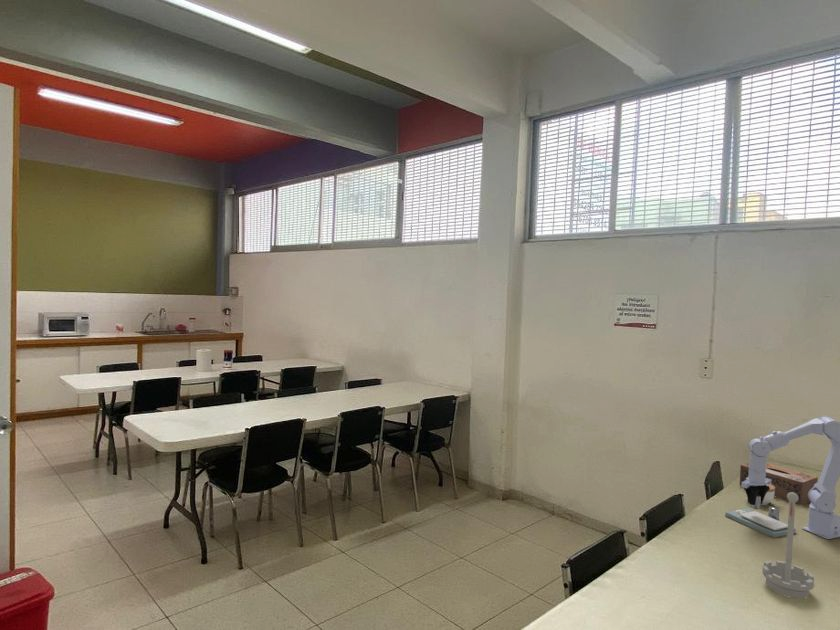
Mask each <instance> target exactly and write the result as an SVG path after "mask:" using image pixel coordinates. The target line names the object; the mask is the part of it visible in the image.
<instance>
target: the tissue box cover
mask: <svg viewBox="0 0 840 630" xmlns="http://www.w3.org/2000/svg"><path fill="white" fill-rule="evenodd" d="M739 469H740V471H739V486H740V485H741V484H742V482H744V481H745V480H746V478H747V477H748V475H749V462H747V463H744V464H741V465H740V468H739ZM766 478H768V479H771V480H772V481H771V485H773V486H775V495H774V497H775V496H776V498H778V497H779V498H778V499H781V500H785V501H788V502H789V500H788V499H787V494H788V493H790V492H794V493H796V494H797V495H798V498H799V499H798V501H797V502H795V504H798V505H804V504H807V503H809V502H811V501H810V500H809V498H808V492H809V491H810V490H811V489H812V488H813V487H814V484H815V483H817V482H818V481H819V477H818V476H815V475H811V474H808V473H805V472H800V471H797V470H793V469H790V468H785V467H781V466H777V465H775V464H772V463H767V462H766Z"/></svg>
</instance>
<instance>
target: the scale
mask: <svg viewBox="0 0 840 630" xmlns="http://www.w3.org/2000/svg"><path fill="white" fill-rule="evenodd" d="M724 516H725V517H726V518H729V519H731V520H733V521H736V522H738V523H740V524H743V525H744V526H747V527H749V528H752V529H753V530H756V531H758V532H761V533H762V534H764V535H766V536H770V537H772V538H775V539H776V538H779V537H784V536H787V532H788V523H784V522H783V521H780V520H779V521H778V520H775V519H773V518H771V517H768V516H767V515H766V514H763V513H761V512H760V511H759V512H758V511H756V510H754V511H753V510H752V509H750V508H747V507H746V508H740V509H736V510H729V511H725V512H724ZM796 530H797V529H796V528H795V527H794V533H793V534H796Z"/></svg>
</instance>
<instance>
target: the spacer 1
mask: <svg viewBox="0 0 840 630" xmlns="http://www.w3.org/2000/svg"><path fill="white" fill-rule="evenodd" d="M761 506H762V505H761V495H759V494H757V497H756V503H755V505H751V504H749V507H750V508H751V509H753V510H761Z"/></svg>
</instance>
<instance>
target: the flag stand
mask: <svg viewBox="0 0 840 630" xmlns="http://www.w3.org/2000/svg"><path fill="white" fill-rule="evenodd" d="M787 499H788V500H789V501H788V500H787V501H788V503H789V505H788V517H787V525H788V532H787V535H786V550H785V561H783V560H775V563H772V561H770V560H766V561H764V562H763V565H762V575H763V577H764V578H765V585H766V586H767V587H768V588H769V589H770V590H771V589H772V592H775V593H776V594H779V595H781V594H782V596H784V595H785V597H787V596H790V597H789V598H791V597H794V598H793V599H798V598H802V599H806V598H805V597H807V598H809V597H810V591H811V590H812V589H814V587H815V576H814V575H813V574H812V573H811V572H804V570H805V569H804V568H803V567H801V566H798V565H796V564H793V562H792V561H793V546H794V534H795V533H794V528H795V516H796V515H795V512H796V503H795V502H797V501H798V499H799V498H798V495H797V494H796V493H794V492H790V493H788V494H787ZM792 564H793V565H792ZM792 566H793V567H792Z"/></svg>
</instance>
